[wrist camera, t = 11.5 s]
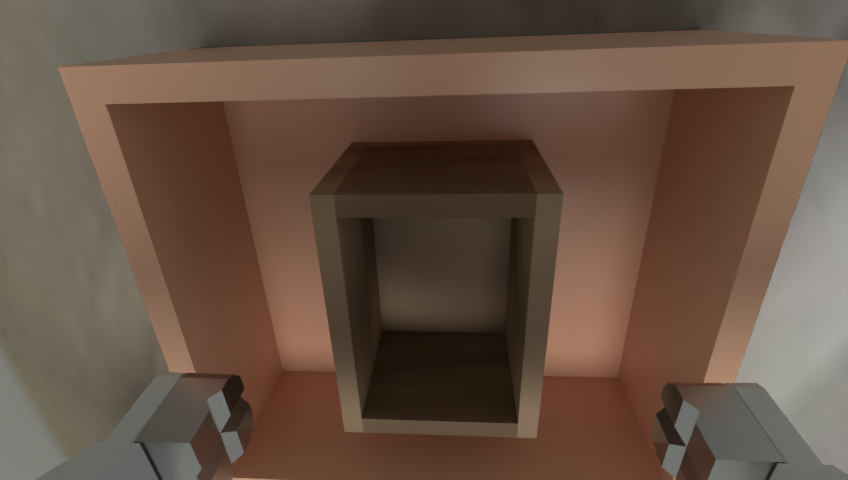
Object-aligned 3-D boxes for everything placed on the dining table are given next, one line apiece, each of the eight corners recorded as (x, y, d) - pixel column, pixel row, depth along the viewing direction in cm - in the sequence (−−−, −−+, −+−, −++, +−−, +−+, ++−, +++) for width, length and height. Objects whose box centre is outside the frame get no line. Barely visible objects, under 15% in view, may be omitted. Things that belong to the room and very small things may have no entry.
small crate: (352, 142, 15) (308, 194, 11) (532, 139, 15) (563, 193, 11) (371, 333, 19) (344, 431, 15) (517, 335, 19) (536, 438, 14)
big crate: (198, 47, 15) (57, 66, 10) (701, 29, 14) (853, 40, 9) (275, 371, 21) (213, 492, 16) (628, 378, 20) (689, 511, 15)
